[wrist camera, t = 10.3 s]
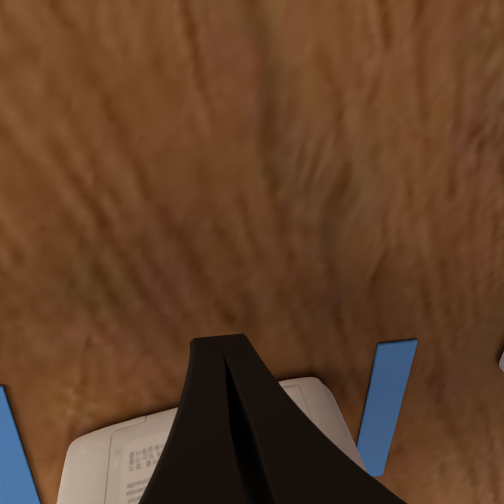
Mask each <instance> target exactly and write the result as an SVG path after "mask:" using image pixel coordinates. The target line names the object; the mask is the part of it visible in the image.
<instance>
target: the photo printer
mask: <svg viewBox="0 0 504 504" xmlns="http://www.w3.org/2000/svg"><path fill="white" fill-rule="evenodd" d="M278 383H279V384H280V385H281V386H282V388H283V389H284V390H285V391H286V393H287V394H288V395H289V396H290V397H291V399H292V400H293V401H294V402H295V403H296V404H297V406H298V407H299V408H300V409H301V410H302V411H303V412H304V413H305V414H306V416H307V417H308V418H309V419H310V420H311V421H312V422H313V423H314V424H315V425H316V426H317V427H318V428H319V429H320V430H321V431H322V432H323V433H324V434H325V435H326V436H327V437H328V438H329V439H330V440H331V441H332V442H333V443H334V444H335V445H336V446H337V447H338V448H339V449H340V450H341V451H343V452H344V453H345V454H346V455H347V456H348V457H349V458H350V459H352V460H353V461H354V462H355V463H356V464H357V465H358V466H360V467H361V468H362V469H363V470H364V471H366V472H367V470H366V468H365V466H364V464H363V461H362V459H361V457H360V455H359V452H358V450H357V448H356V446H355V443H354V441H353V439H352V436H351V434H350V432H349V430H348V427H347V425H346V423H345V421H344V418H343V416H342V414H341V412H340V409H339V407H338V405H337V403H336V401H335V398H334V396H333V394H332V393H331V391H330V390H329V389H328V388H327V387H326V386H325V385H324V384H323V383H321V381H320V380H319V379H318V378H315V377H304V378H296V379H289V380H284V381H279V382H278ZM177 409H178V407H177V408H174V409H170V410H166V411H162V412H158V413H155V414H151V415H147V416H142V417H139V418H135V419H132V420H128V421H125V422H121V423H118V424H115V425H111V426H108V427H105V428H102V429H99V430H96V431H93V432H91V433H88V434H85V435H83V436H81V437H79V438H77V439H76V440H74V441H73V442H72V443H71V445H70V446H69V449H68V451H67V455H66V459H65V464H64V469H63V474H62V479H61V484H60V489H59V494H58V500H57V504H138V503H139V501H140V499H141V497H142V495H143V493H144V491H145V489H146V487H147V485H148V482H149V480H150V478H151V476H152V474H153V472H154V469H155V467H156V465H157V463H158V460H159V458H160V456H161V453H162V451H163V448H164V446H165V443H166V441H167V438H168V435H169V433H170V430H171V427H172V424H173V421H174V418H175V415H176V412H177Z"/></svg>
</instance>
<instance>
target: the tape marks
mask: <svg viewBox="0 0 504 504" xmlns="http://www.w3.org/2000/svg"><path fill="white" fill-rule="evenodd" d="M417 342H418V340H417V339H415V340H406V341H397V342H388V343H379V344H378V345H377V350H376V355H375V359H374V364H373V369H372V374H371V379H370V383H369V388H368V393H367V398H366V402H365V407H364V412H363V417H362V422H361V426H360V431H359V436H358V441H357V445H356V448H357V450H358V452H359V455H360V457H361V459H362V461H363V464H364V466H365V468H366V470H367V473H368V474H369V475H371V476H372V477H375V476H381V475H383V472H384V468H385V464H386V460H387V456H388V453H389V449H390V445H391V441H392V437H393V434H394V430H395V426H396V422H397V418H398V414H399V411H400V407H401V403H402V399H403V395H404V392H405V388H406V384H407V380H408V376H409V373H410V369H411V365H412V361H413V357H414V354H415V350H416V346H417ZM0 504H41V502H40V499H39V495H38V492H37V489H36V486H35V483H34V480H33V477H32V474H31V471H30V467H29V464H28V461H27V458H26V455H25V452H24V449H23V446H22V442H21V439H20V436H19V433H18V430H17V427H16V424H15V421H14V418H13V414H12V411H11V408H10V405H9V402H8V399H7V396H6V393H5V389H4V386H3V385H2V386H0Z"/></svg>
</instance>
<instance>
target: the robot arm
mask: <svg viewBox="0 0 504 504" xmlns="http://www.w3.org/2000/svg"><path fill="white" fill-rule="evenodd" d="M499 366H500V368H501V370H502V371H503V372H504V352H503V354H502V357H501V360H500V363H499ZM138 504H407V503H406V502H404V501H403V500H401V499H400V498H399V497H397V496H396V495H395V494H394V493H392V492H391V491H390V490H389V489H387V488H386V487H385V486H383V485H382V484H381V483H380V482H378V481H377V480H376V479H375V478H373V477H372V476H371V475H369V474H368V473H367V472H366V471H364V470H363V469H362V468H361V467H360V466H358V465H357V464H356V463H355V462H354V461H353V460H352V459H350V458H349V457H348V456H347V455H346V454H345V453H344V452H343V451H341V450H340V449H339V448H338V447H337V446H336V445H335V444H334V443H333V442H332V441H331V440H330V439H329V438H328V437H327V436H326V435H325V434H324V433H323V432H322V431H321V430H320V429H319V428H318V427H317V426H316V425H315V424H314V423H313V422H312V421H311V420H310V419H309V418H308V417H307V416H306V414H305V413H304V412H303V411H302V410H301V409H300V408H299V407H298V406H297V404H296V403H295V402H294V401H293V400H292V399H291V397H290V396H289V395H288V394H287V393H286V391H285V390H284V389H283V388H282V386H281V385H280V384H279V383H278V381H277V380H276V379H275V378H274V376H273V375H272V374H271V372H270V371H269V370H268V368H267V367H266V365H265V364H264V363H263V361H262V360H261V358H260V357H259V355H258V354H257V352H256V351H255V349H254V348H253V346H252V344H251V343H250V341H249V339H248V338H247V336H245V335H244V334H233V335H223V336H212V337H202V338H194V339H193V340H192V341H191V342H190V357H189V365H188V370H187V376H186V380H185V384H184V388H183V392H182V395H181V399H180V403H179V406H178V409H177V412H176V415H175V418H174V421H173V424H172V427H171V430H170V433H169V435H168V438H167V441H166V443H165V446H164V448H163V451H162V453H161V456H160V458H159V460H158V463H157V465H156V467H155V469H154V472H153V474H152V476H151V478H150V480H149V482H148V485H147V487H146V489H145V491H144V493H143V495H142V497H141V499H140V501H139V503H138Z"/></svg>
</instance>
